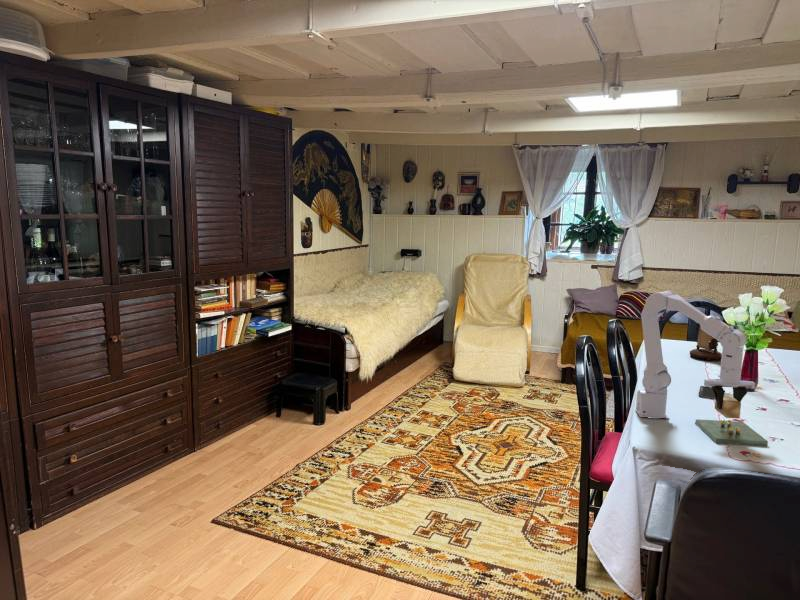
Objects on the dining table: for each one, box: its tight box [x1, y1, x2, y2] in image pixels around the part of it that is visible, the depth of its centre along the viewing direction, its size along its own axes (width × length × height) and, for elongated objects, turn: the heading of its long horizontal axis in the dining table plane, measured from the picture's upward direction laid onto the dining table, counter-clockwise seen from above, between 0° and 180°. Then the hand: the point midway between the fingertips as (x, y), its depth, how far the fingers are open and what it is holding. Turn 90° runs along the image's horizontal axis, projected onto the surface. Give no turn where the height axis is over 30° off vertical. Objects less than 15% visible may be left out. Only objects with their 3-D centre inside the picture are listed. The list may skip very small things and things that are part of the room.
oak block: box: [714, 393, 742, 419], centre depth 184 cm, size 4×9×5 cm, turn 172°
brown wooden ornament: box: [689, 322, 722, 362], centre depth 285 cm, size 15×15×20 cm
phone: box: [698, 385, 715, 400], centre depth 228 cm, size 8×1×15 cm
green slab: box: [694, 418, 769, 447], centre depth 185 cm, size 15×17×4 cm
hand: (727, 408), depth 184 cm, fingers closed on oak block, 4 cm apart
